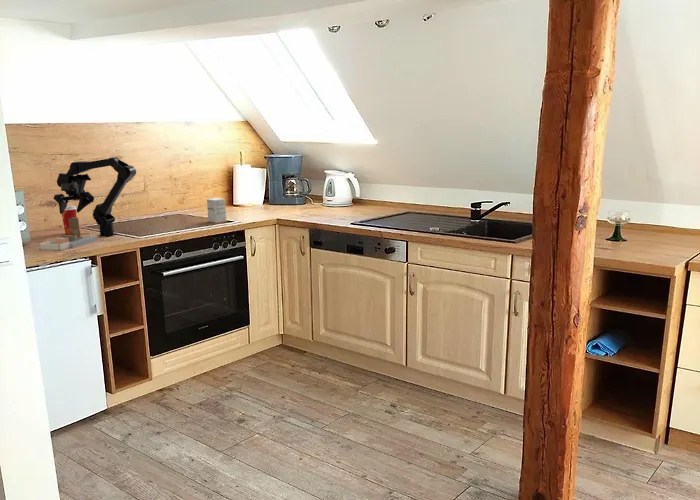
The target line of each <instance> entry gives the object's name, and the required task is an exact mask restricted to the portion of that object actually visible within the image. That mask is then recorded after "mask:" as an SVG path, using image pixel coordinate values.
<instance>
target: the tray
mask: <svg viewBox="0 0 700 500" xmlns="http://www.w3.org/2000/svg"><path fill="white" fill-rule="evenodd" d="M50 242H51V240H48V241H43V242H41V243H38V247H39V251H45V252H47V251H48V252H63V251H65V250H68V249H71V248H70V243H69V242H65V243H62V244H50Z"/></svg>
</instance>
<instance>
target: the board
mask: <svg viewBox="0 0 700 500" xmlns="http://www.w3.org/2000/svg"><path fill="white" fill-rule="evenodd" d="M81 236H82V238H81V239H78V240H75V241H69V243H70V248H69V249H75V248H78V247H81V246H84V245H87V244H88V245H89V244H91V243H94V242H97V241H98V236H93V235H92V236H90V235H89V236H88V235H81ZM50 244H62V243H56V239H55V240H52V241H50Z"/></svg>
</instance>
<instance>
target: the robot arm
mask: <svg viewBox="0 0 700 500" xmlns="http://www.w3.org/2000/svg"><path fill="white" fill-rule="evenodd" d="M104 167H111V168H112V170H114V171H115V172H116V173H117V176H116V177H117V178H116V181H115V183H114V185H113V186H112V188H111V189H110V190H109V192H108V194H107V196H106V197H105V199H104V201H103V202H101V203H98V204H96V205H95V208H94V209H93V210H92V217H93V220H95V222H96V224H97V225H98V226H99V234H98V235H97V237H105V238H106V237H108V238H109V237H113V236H115V235H117V233H115V231H114V223H115V220H116V218H115V216H113V214H112V212H113V211H112V210H113V206H114V204H115V202H116V201H117V199H118V198H119V196H120V194H121V193H122V191H123V190H124V189H125V186H126V185H127V183H129V182H130V181H132V180H133V178H134V177H135V176H136V174H137V170H136V168H135V166H133V165H131V164H129V163H126V162H125V161H122V160H121V159H119V158H118V157H117V156H112V157H109V158H104V159H98V160H93V161H85V160H81V161H73V162H71V163H70V165H69V169H68V170H67V172H66V173H65V172H63V173H61V172H60V173H58V177H57V179H56V184H57V186H58V187H59V188H60V191H62V192H65V194H63V193H57V194H54V196H53V200H54V201H55V202H56V203H58V208H59V214H60V215H62V213H63V212H64V210H65V208H66V207H67V206H68V203H69V201H79V202H78V205H77V207H76V208H77V209H76V214H78V213H80V212H81V211H82V210H84V208H86V207H87V206H88V205H90V204H91V203H94V201H95V197H94V195H92V193H90V191H86V190H85V187H86V183H87V181H92V178H91V177H90V176H89V175H90V174H88V173H86V172H88V171H91V170H93V169H99V168H104ZM83 173H85V174H83Z"/></svg>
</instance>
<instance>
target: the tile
mask: <svg viewBox="0 0 700 500" xmlns="http://www.w3.org/2000/svg"><path fill="white" fill-rule="evenodd" d="M55 240H56V243H65V242H69V237H61V238H59V237H57V238H55Z"/></svg>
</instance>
